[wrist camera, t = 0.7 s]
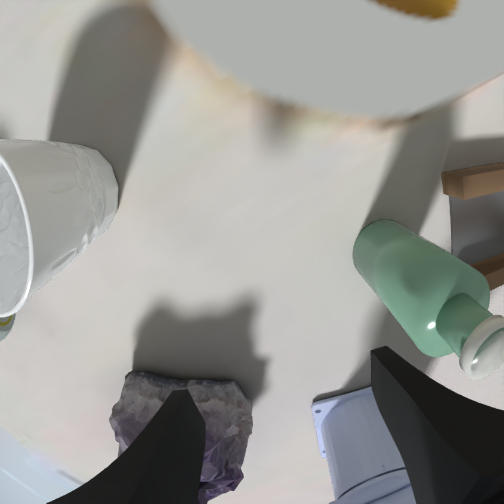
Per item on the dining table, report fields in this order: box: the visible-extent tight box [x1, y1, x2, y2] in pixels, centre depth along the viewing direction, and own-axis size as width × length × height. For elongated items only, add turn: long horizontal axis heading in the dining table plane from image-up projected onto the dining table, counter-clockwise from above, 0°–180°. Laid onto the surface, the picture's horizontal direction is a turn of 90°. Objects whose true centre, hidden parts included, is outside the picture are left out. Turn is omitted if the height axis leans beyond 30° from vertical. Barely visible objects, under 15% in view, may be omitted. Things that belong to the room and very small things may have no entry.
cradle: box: [441, 162, 504, 290], centre depth 18 cm, size 9×10×2 cm
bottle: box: [353, 220, 504, 381], centre depth 14 cm, size 4×4×12 cm
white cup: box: [0, 139, 119, 317], centre depth 13 cm, size 8×8×10 cm
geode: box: [109, 370, 253, 504], centre depth 21 cm, size 20×12×10 cm, turn 160°
